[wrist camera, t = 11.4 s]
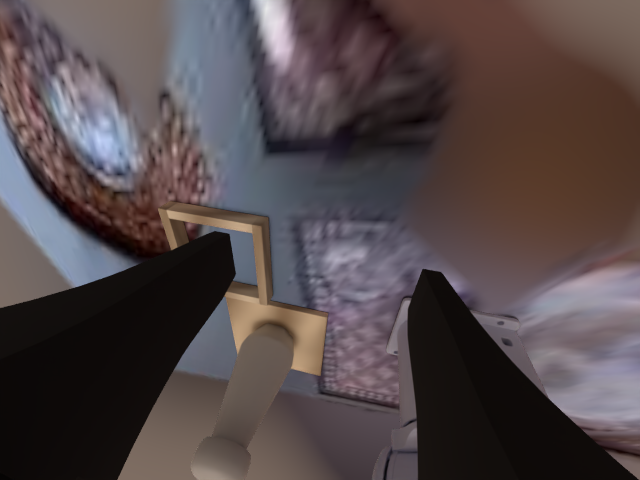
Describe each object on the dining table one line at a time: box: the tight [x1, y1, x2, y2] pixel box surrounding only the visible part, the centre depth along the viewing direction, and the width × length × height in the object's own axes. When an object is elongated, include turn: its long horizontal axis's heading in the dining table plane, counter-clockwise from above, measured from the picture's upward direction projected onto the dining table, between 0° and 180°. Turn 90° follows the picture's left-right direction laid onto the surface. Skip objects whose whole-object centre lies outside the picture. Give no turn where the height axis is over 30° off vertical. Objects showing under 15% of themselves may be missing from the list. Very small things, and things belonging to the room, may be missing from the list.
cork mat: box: [226, 297, 328, 376], centre depth 30 cm, size 11×11×1 cm
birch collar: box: [158, 201, 273, 306], centre depth 24 cm, size 9×9×2 cm
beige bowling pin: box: [191, 323, 294, 480], centre depth 24 cm, size 6×6×13 cm
